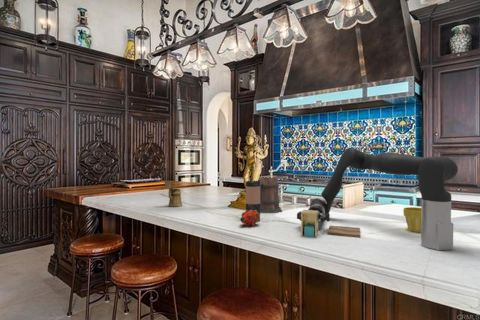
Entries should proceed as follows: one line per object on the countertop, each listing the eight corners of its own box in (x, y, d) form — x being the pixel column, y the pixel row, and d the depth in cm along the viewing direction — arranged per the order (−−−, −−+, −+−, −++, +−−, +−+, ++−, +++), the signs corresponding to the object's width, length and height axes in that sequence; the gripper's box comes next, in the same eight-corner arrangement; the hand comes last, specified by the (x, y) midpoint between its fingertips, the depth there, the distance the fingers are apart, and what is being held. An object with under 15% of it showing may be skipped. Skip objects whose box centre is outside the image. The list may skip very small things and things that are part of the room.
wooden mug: (160, 207, 192) (160, 179, 191) (174, 204, 204) (174, 178, 203) (171, 208, 188) (171, 180, 187) (185, 205, 199) (185, 178, 199)
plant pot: (397, 229, 137) (398, 207, 137) (413, 227, 141) (413, 206, 141) (419, 234, 128) (419, 211, 127) (435, 232, 132) (435, 210, 131)
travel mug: (263, 219, 157) (263, 181, 157) (253, 221, 151) (253, 182, 151) (252, 217, 162) (252, 180, 162) (242, 219, 157) (242, 181, 156)
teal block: (305, 233, 129) (305, 224, 129) (315, 234, 128) (315, 225, 128) (304, 236, 126) (304, 226, 126) (314, 236, 124) (314, 227, 124)
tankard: (263, 207, 194) (263, 176, 193) (287, 209, 184) (287, 177, 184) (243, 213, 174) (243, 178, 174) (269, 216, 165) (269, 180, 165)
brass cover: (303, 232, 131) (303, 209, 131) (318, 233, 129) (318, 210, 128) (301, 236, 125) (301, 212, 125) (316, 237, 123) (316, 213, 123)
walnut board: (329, 227, 140) (329, 225, 140) (359, 230, 135) (359, 227, 135) (327, 234, 128) (327, 232, 128) (360, 237, 123) (360, 235, 123)
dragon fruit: (260, 226, 148) (243, 234, 139) (249, 214, 152) (232, 222, 144) (267, 214, 143) (249, 222, 135) (255, 202, 148) (238, 209, 139)
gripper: (301, 204, 147) (294, 209, 132) (331, 205, 142) (328, 211, 127) (301, 219, 148) (294, 226, 132) (331, 221, 142) (328, 229, 127)
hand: (311, 219), depth 130 cm, fingers open, 8 cm apart
